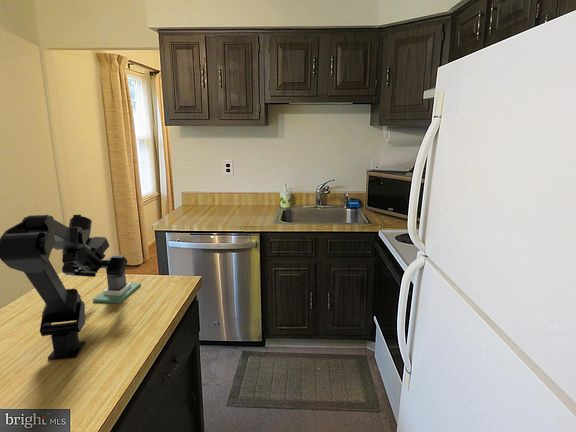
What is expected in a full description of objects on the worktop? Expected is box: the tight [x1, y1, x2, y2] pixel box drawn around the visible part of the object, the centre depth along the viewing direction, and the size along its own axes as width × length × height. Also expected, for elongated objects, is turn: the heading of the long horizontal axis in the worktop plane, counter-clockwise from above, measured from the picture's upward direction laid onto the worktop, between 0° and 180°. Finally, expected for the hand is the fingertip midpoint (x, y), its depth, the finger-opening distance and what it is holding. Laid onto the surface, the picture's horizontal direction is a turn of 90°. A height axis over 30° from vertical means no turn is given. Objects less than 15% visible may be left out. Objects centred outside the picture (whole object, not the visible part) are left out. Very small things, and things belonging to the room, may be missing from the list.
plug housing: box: [105, 254, 127, 291], centre depth 121 cm, size 5×4×12 cm
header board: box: [92, 281, 142, 304], centre depth 122 cm, size 14×9×2 cm, turn 174°
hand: (108, 276), depth 116 cm, fingers open, 9 cm apart
